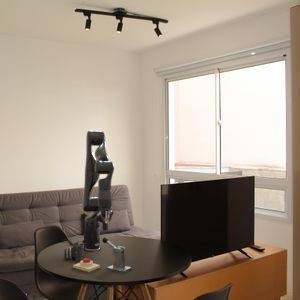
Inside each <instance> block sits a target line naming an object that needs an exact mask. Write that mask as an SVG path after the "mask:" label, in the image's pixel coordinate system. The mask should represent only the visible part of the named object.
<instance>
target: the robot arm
mask: <svg viewBox="0 0 300 300" xmlns="http://www.w3.org/2000/svg"><path fill="white" fill-rule="evenodd" d="M85 141H86V142H85V146H86V147H85V148H86V149H85V152H86V153H85V166H84V185H83V186H84V187H83V192H82V193H83V195H82V199H81V200H82V202H81V207H82V208H81V209H82V211H83V212H84V213H90V212H92V213H91V214H90V215H88V216H86V217H85V218H84V234H83V240H81V241H82V242H83V250H85V251H87V252H96V251H100V250H101V236H100V235H101V231H100V230H101V229H100V228H101V227H100V225H101V224H102V230H103V231H108V230H109V223H110V222H111V221H112V219H113V216H114V213H115V212H114V211H112V206H113V193H112V192H113V191H112V179H113V175H114V171H115V163H114V162H113V161H111V160H110V159H109V155H108V152H107V142H106V134H105V132H104V131H103V130H88V131H87V132H86V138H85ZM93 147H97V148H96V149H95V151H94V152H93ZM101 175H106V176H105V177H102V178H100V176H101ZM96 184H97V196H91V194H92V191H93V189H94V187H95V185H96ZM100 223H101V224H100ZM64 241H65V242H68V243H69V244H70V245H72V246H73V244H74V243H73V241H72V240H70V239H67V238H66V239H65V238H64V239H62V240H61V242H62V243H63V242H64Z"/></svg>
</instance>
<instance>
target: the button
mask: <svg viewBox="0 0 300 300" xmlns="http://www.w3.org/2000/svg"><path fill="white" fill-rule="evenodd" d="M82 260H83V262H84V263H89V262H90V260H91V258H88V257H84V258H82Z"/></svg>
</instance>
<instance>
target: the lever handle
mask: <svg viewBox="0 0 300 300" xmlns="http://www.w3.org/2000/svg"><path fill="white" fill-rule="evenodd" d="M101 241H102V243H103V244H107V245H108V246H110V247H111V248H112V249H113V248H117V246H116V245H114V244H113V243H112V242H110V241H109V239H108V237H105V236H104V237H103V238H102V240H101ZM118 248H119V249H121V248H120V247H118ZM122 251H123V250H122V249H121V254H122Z"/></svg>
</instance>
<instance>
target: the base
mask: <svg viewBox="0 0 300 300" xmlns="http://www.w3.org/2000/svg"><path fill="white" fill-rule="evenodd" d="M116 247H117V248H112V265H110V266H107V267H106V269H109V270H113V271H115V272H116V271H117V272H119V273H120V272H121V273H124V272H126V271H129V270H131V269H132V267H131V266H127V265H126V247H125V246H121V245H117V246H116ZM118 247H120V248H121V249H122V250H123V251H122V254H121V249H119V248H118Z"/></svg>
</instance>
